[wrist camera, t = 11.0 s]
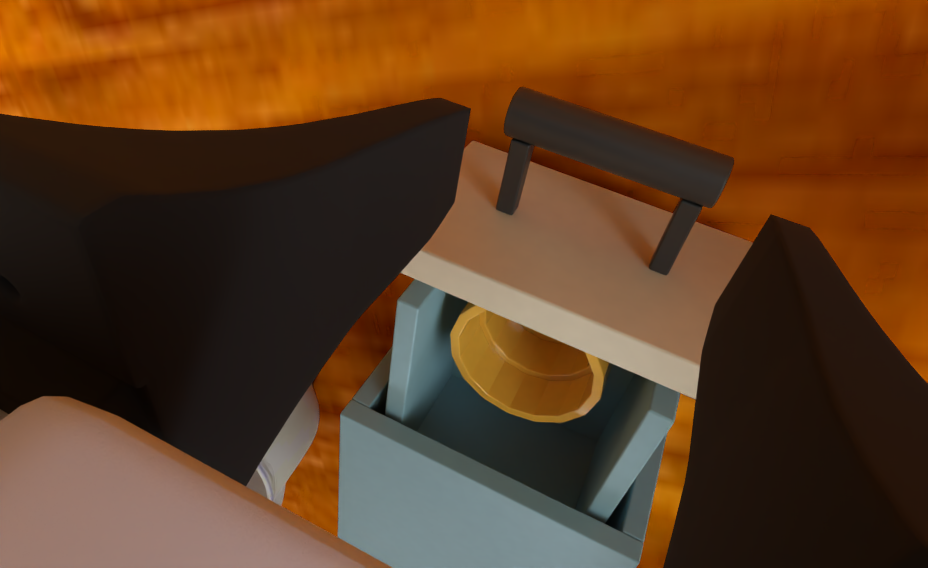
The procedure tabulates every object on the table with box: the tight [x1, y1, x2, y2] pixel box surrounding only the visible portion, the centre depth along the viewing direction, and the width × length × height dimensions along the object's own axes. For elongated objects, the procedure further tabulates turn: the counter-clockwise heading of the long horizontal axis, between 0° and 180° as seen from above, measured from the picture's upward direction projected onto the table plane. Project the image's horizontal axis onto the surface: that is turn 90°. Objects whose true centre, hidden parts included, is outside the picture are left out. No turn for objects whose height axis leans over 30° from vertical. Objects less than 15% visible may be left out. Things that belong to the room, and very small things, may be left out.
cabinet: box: [338, 347, 667, 568], centre depth 28 cm, size 14×12×9 cm
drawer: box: [385, 87, 753, 524], centre depth 21 cm, size 16×10×7 cm, turn 170°
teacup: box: [246, 384, 319, 506], centre depth 37 cm, size 14×11×8 cm
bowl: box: [450, 302, 613, 423], centre depth 21 cm, size 5×5×4 cm
